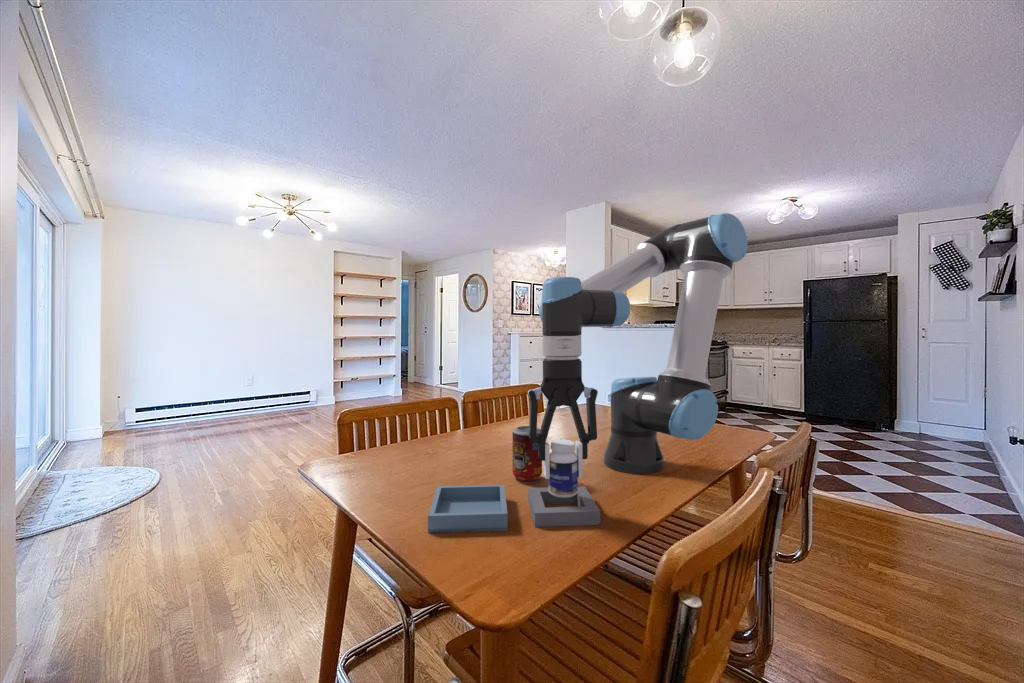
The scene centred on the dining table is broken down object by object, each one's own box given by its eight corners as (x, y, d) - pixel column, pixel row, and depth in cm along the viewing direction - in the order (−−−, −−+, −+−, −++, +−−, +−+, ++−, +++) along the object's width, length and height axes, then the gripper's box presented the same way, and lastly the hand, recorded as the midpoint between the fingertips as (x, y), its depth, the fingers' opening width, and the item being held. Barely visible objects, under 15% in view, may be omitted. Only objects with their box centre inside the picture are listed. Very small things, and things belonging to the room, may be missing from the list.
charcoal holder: (584, 498, 88) (584, 486, 88) (600, 524, 76) (600, 511, 76) (528, 499, 88) (528, 488, 87) (534, 526, 76) (534, 513, 76)
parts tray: (504, 498, 88) (504, 484, 88) (507, 530, 74) (507, 513, 74) (437, 500, 87) (437, 486, 87) (428, 532, 73) (427, 516, 73)
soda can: (506, 481, 98) (507, 429, 98) (521, 472, 104) (521, 423, 104) (533, 487, 95) (534, 433, 94) (546, 477, 101) (547, 426, 101)
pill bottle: (543, 495, 81) (543, 444, 80) (554, 485, 86) (554, 437, 86) (572, 500, 78) (571, 448, 78) (581, 490, 83) (581, 440, 83)
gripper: (515, 360, 77) (516, 484, 78) (615, 358, 78) (615, 481, 79) (512, 357, 84) (514, 470, 85) (604, 355, 85) (604, 467, 86)
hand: (562, 475), depth 82 cm, fingers closed on pill bottle, 6 cm apart
